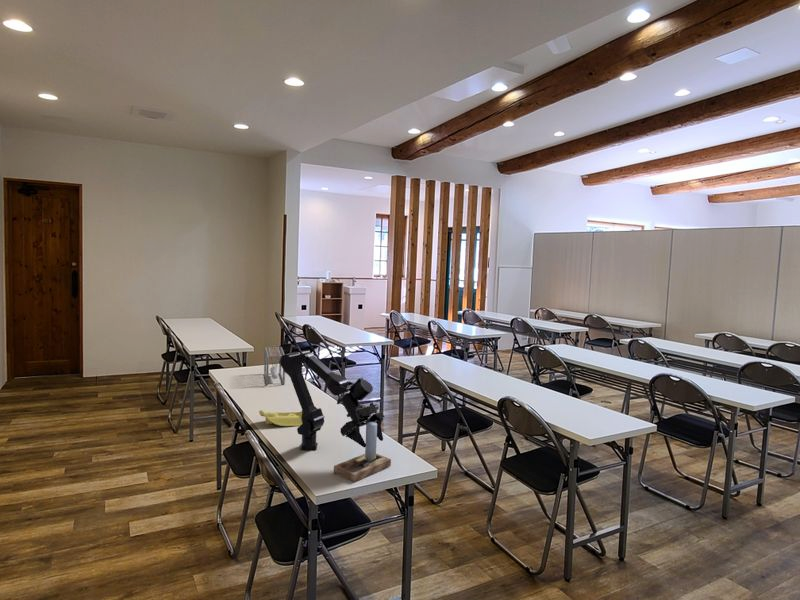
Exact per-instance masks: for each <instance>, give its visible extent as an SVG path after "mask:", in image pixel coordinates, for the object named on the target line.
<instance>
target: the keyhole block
mask: <svg viewBox="0 0 800 600" xmlns="http://www.w3.org/2000/svg"><path fill="white" fill-rule="evenodd" d="M367 461H368V459H366V458H365V453H364V454H361V455H358V456H355V457H353V458H351V459H348V460H346V461H342V462H340V463H337V464H336V465H333V474H335V473H336V475H337V474H338V476H340V477H342V478H345V479H347V480H349V481H351V482H353V483H356V482H358V481H360V480H362V479H364V478H367V477H369V476H372V475H373V474H376V473H378V472H381V471H383V470H385V469H387V468H389V466H390V467H391V465H392V459H391V458H389V457H387V456H384V455H381V454H378V453H376V459H373V461H372V462H370V463H368V464H366V466H367V467H365V468H364V467H362V468H360V469H358V470H356V471H354V472H353V471H351V470H350V468H351V469H353V468H355V467H358V466H360V465H363V463H364V462H367Z"/></svg>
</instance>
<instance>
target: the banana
mask: <svg viewBox="0 0 800 600" xmlns="http://www.w3.org/2000/svg"><path fill="white" fill-rule="evenodd" d="M258 412H259V415H260V416H261V417H264V419H265V425H272V424H274V425H276V426H281V427H299V426H301V425H302V424H303V423H302V419H301V418H302V410H301V411H299V412H264V411H263V410H262V409H261V410H259V411H258Z"/></svg>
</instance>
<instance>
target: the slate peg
mask: <svg viewBox="0 0 800 600" xmlns="http://www.w3.org/2000/svg"><path fill="white" fill-rule="evenodd" d="M377 440H378V437H377V423H374V422H369V423H366V425H365V444H366V447H365V452H364V454H365V458H366V459H368V461H367V462H364V463H363V464H362V468H365V467H367V466H366V464H368V463H370V462H372V461H373V459H376V454H377Z"/></svg>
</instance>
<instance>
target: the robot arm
mask: <svg viewBox="0 0 800 600" xmlns="http://www.w3.org/2000/svg"><path fill="white" fill-rule="evenodd" d="M284 354H285V353H284ZM282 355H283V354H282ZM279 364H281V369H282V371H283V370H284V372H285V375H288V377H289V378H290V380H291V383H292V386H293V389H294V391H295V394H296V397H297V399H298V403H299V405H300V407H301V411H302V418H301V419H302V423H303V424H302V425H301V426H297V428H296V430H297V434H298V435H301V443H300V447H299V450H300V451H303V450H304V451H307V450H309V451H311V450H312V451H314V450H315V451H317V449H318V442H317V432H319V431H321V429H322V427H323V426H324V425H325V424H324V423H325V415H324V413H323V410H322V408H321V407H318V408H317V407H316V405H315V404H314V402H313V398H312V396H311V393H310V391H309V389H308V385H307V383H306V380H305V377H304V375H303V365H305V366H307V368H309V369H310V370H311V371H312V372H313V373H314V374H316V375H317V377H319V378H320V379H321V380H322V381H324V383H325V386H326V388H327V389H328V390H329V392H330V393H331V394H332V395H333V396H337V401H336V405H341V404H342V405H343V407H344V409H345V411H346V413H347V414H346V417H347V418H350V419H351V420H350V421H347V422H346V423H345V424H344V425H342V427H341V428H340V434H341V436H342V437H346V438H349V439H350V440H352V441H353V442H355V443H356V444H358V445H360V446H361V447H363V448H365V447H366V441H365V440H364V437H363V436H362V433H361V432H360V429H361V427H364V426H366V423H369V422H374V423H377V440H379V441H380V442H383V441H384V436H383V430H382V422H383V421H384V418H385V416H384V414H383V412H380V411H379V408H380V407H379V405H378V403H377V402H376V401H373V402H371V403H369V405H367V406H366V405H365V404H361V403H360V401H363V400H364V399H365V398H367V396H369V395H370V394H371V393H372V392H373V391H374V387H373V386H372V384H371V383H370V382H369V381H367V380H366V379H364V378H363V377H360V378H358V379H357V380H356V381H355V382H351V381H349V380H348V378H346V377H344V376H343V375H341V374H338V373H335V372H333V371H332V369H331V368H329V367H328V366H326V365H325V364H324V362H322V361H321V360H320V359H318V358H317V356H315V354H314V353H313V352H311V351H308V352H303V353H298V352H290V353H286V354H285V355H283V356H281V360H280V359H279ZM341 395H342V396H341ZM378 411H379V412H378Z"/></svg>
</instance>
